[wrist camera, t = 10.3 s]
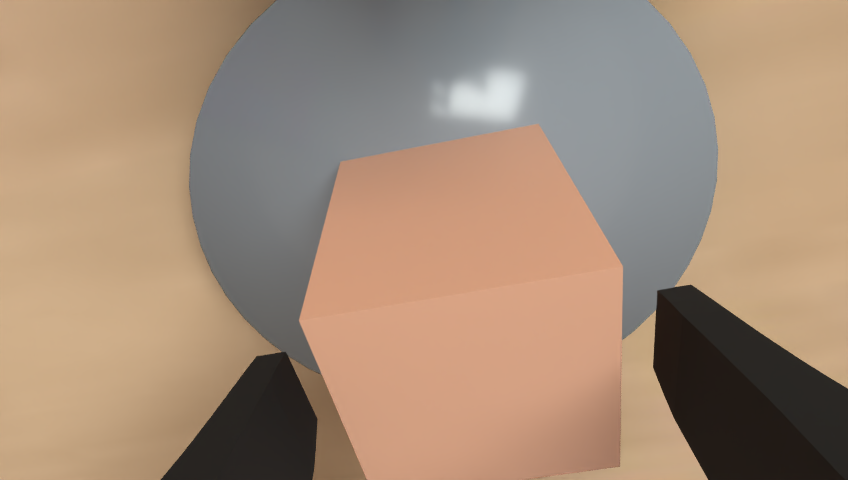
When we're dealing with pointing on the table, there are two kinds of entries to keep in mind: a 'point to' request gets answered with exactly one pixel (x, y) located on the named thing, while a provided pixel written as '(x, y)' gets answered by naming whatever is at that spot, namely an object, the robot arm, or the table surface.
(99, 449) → the table surface
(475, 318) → the block
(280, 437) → the robot arm
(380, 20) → the dish
